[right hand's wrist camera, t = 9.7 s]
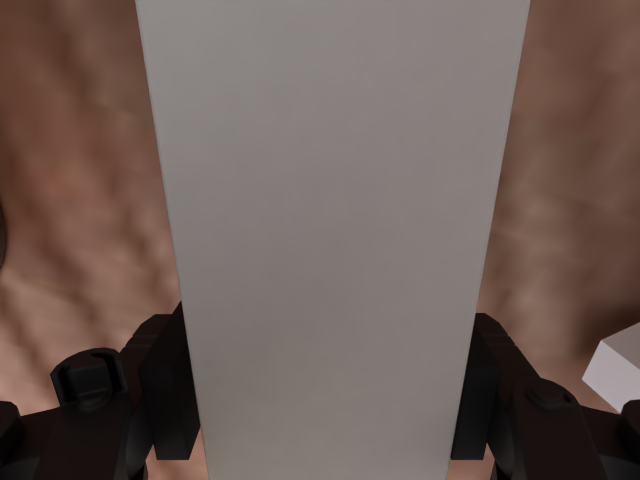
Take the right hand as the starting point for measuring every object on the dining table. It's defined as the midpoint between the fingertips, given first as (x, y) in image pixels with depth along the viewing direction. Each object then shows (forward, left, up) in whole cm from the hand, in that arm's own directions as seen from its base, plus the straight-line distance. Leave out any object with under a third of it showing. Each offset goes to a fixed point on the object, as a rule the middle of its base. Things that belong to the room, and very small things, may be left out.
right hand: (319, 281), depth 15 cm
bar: (+8, +4, -1) cm, 9 cm away
